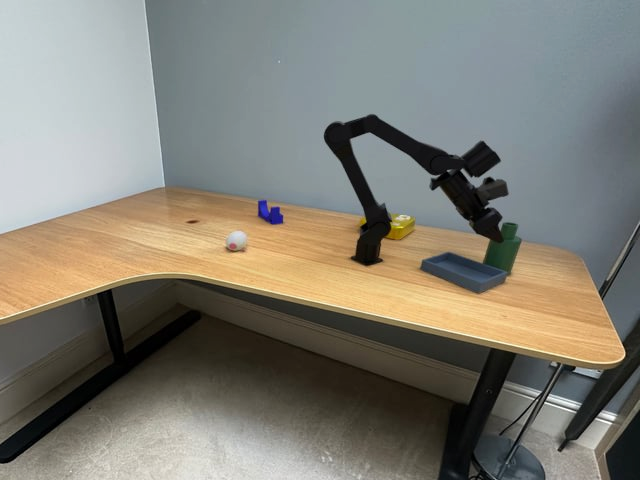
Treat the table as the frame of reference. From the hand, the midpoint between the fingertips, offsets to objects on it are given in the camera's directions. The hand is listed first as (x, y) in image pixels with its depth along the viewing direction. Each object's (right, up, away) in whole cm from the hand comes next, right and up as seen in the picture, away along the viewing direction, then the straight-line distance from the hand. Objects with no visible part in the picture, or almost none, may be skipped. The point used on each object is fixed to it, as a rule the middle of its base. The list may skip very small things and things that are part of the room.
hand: (495, 236), depth 95 cm
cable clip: (-56, +13, +46) cm, 73 cm away
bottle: (+2, -9, +4) cm, 10 cm away
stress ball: (-68, -2, +19) cm, 70 cm away
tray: (-8, -10, +2) cm, 13 cm away
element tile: (-16, +6, +34) cm, 38 cm away
